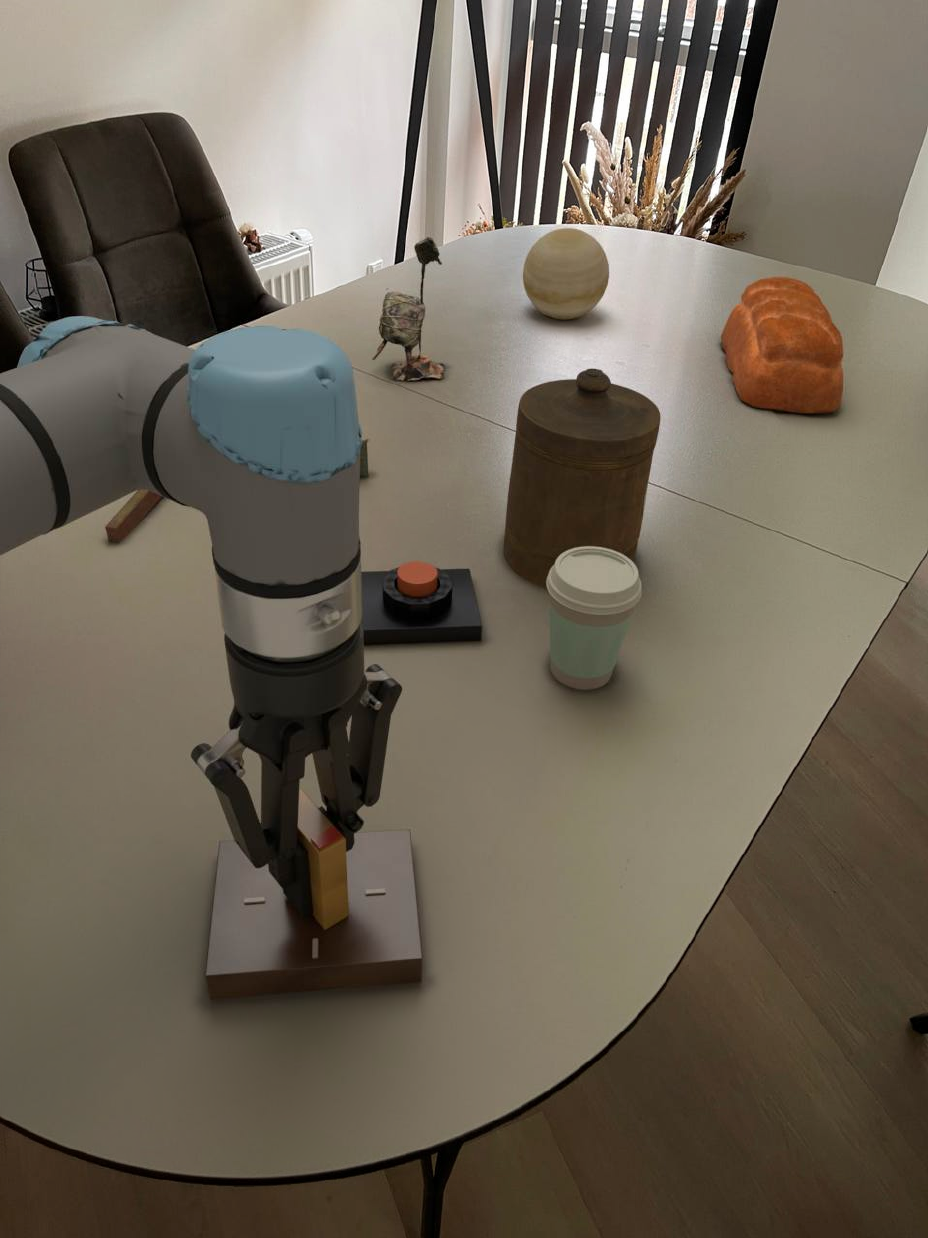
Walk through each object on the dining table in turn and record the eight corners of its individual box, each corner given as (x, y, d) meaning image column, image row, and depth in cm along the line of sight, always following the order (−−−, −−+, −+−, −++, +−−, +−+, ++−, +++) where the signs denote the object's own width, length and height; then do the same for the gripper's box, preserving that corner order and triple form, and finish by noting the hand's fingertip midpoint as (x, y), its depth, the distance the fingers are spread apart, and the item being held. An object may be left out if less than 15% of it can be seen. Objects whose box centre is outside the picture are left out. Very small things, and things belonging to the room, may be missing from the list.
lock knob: (282, 877, 67) (273, 798, 62) (306, 863, 68) (300, 784, 63) (324, 931, 64) (319, 851, 59) (349, 915, 65) (346, 836, 60)
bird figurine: (382, 359, 151) (381, 227, 139) (451, 368, 149) (456, 235, 137) (367, 378, 144) (365, 242, 132) (439, 388, 143) (444, 251, 131)
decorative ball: (613, 312, 173) (625, 226, 164) (588, 338, 162) (599, 247, 153) (536, 297, 178) (544, 213, 169) (506, 321, 167) (513, 232, 158)
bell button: (398, 598, 93) (398, 584, 92) (396, 575, 96) (396, 561, 95) (439, 597, 94) (439, 582, 93) (435, 574, 97) (435, 560, 96)
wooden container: (660, 560, 108) (697, 376, 94) (575, 611, 99) (604, 416, 86) (561, 509, 116) (583, 332, 103) (475, 552, 107) (487, 365, 94)
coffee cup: (642, 673, 91) (664, 570, 84) (587, 714, 86) (604, 609, 79) (574, 633, 96) (589, 532, 89) (517, 669, 91) (528, 566, 84)
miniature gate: (68, 508, 103) (189, 383, 125) (80, 549, 107) (196, 421, 129) (301, 548, 99) (385, 411, 121) (306, 588, 103) (386, 449, 125)
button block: (359, 648, 93) (358, 615, 90) (356, 588, 101) (355, 557, 98) (481, 643, 94) (483, 610, 92) (468, 585, 102) (470, 554, 100)
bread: (738, 410, 141) (758, 324, 133) (716, 335, 166) (732, 258, 158) (845, 420, 140) (872, 333, 132) (806, 342, 165) (827, 265, 157)
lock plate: (210, 1002, 63) (204, 974, 61) (223, 867, 71) (219, 839, 69) (421, 984, 64) (422, 957, 62) (409, 854, 73) (410, 827, 71)
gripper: (197, 718, 45) (244, 993, 59) (445, 608, 53) (434, 874, 67) (131, 639, 50) (189, 912, 64) (369, 548, 58) (374, 809, 72)
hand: (315, 892), depth 66 cm, fingers closed on lock knob, 2 cm apart
